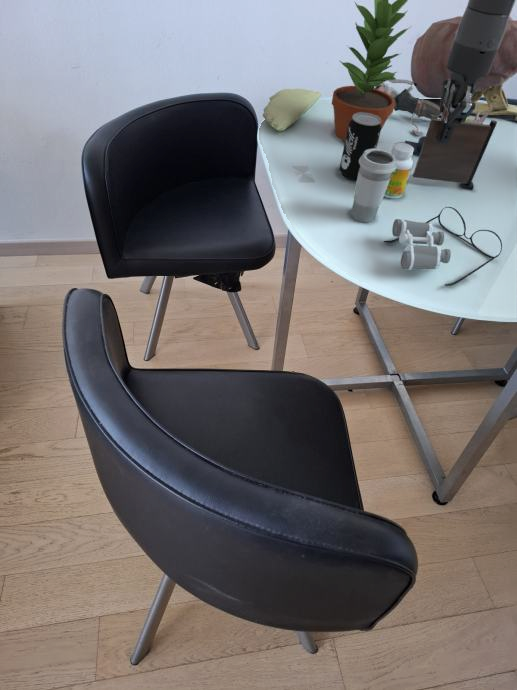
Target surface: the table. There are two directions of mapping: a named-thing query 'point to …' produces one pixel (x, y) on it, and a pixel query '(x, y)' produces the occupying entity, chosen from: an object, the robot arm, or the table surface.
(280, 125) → the dumpling
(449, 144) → the door
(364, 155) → the cup
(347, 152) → the beverage can
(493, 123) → the upright peg on plate
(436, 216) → the glasses
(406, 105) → the toy
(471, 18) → the robot arm
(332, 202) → the table surface
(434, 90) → the sculpture
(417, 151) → the doorbell
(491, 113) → the sandal
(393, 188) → the supplement bottle
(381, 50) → the potted plant
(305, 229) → the table surface
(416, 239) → the binoculars
